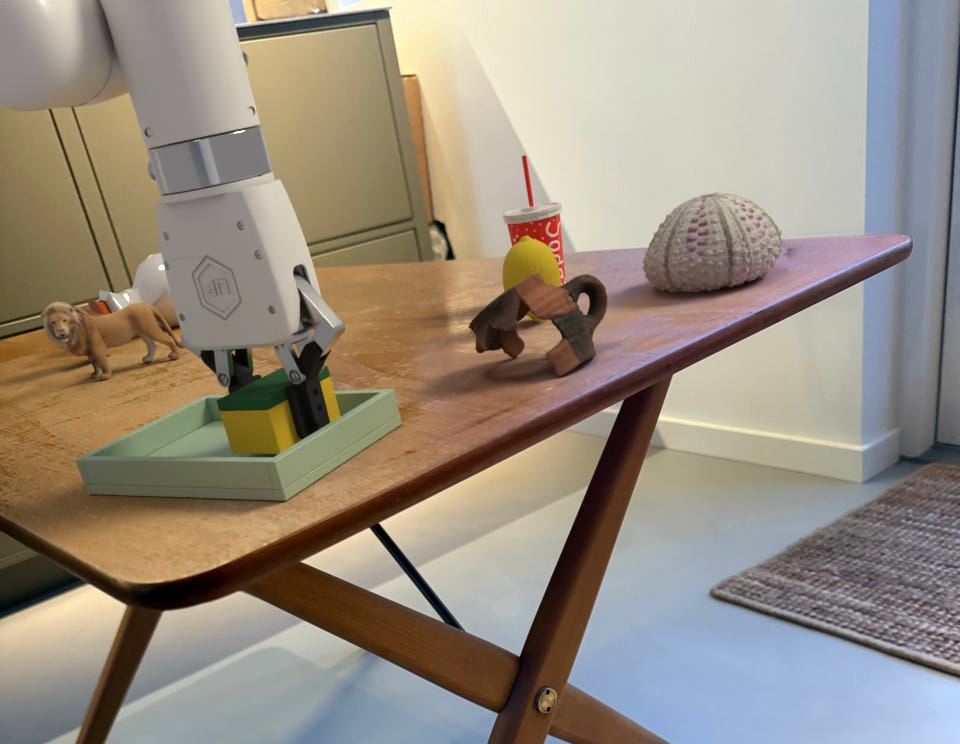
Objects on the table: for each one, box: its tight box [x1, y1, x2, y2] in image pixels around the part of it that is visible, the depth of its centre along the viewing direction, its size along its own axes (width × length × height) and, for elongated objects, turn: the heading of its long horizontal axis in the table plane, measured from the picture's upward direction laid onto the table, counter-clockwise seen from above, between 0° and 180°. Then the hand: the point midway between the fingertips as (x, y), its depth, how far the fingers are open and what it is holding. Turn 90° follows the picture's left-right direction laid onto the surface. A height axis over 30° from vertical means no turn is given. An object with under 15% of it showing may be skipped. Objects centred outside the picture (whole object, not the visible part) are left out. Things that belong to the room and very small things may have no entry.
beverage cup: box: [502, 154, 567, 286], centre depth 107 cm, size 6×6×14 cm
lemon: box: [502, 236, 561, 322], centre depth 99 cm, size 6×6×8 cm
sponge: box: [217, 365, 341, 454], centre depth 76 cm, size 5×8×4 cm, turn 151°
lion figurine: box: [40, 301, 187, 381], centre depth 116 cm, size 15×5×9 cm, turn 126°
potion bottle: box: [86, 252, 180, 329], centre depth 136 cm, size 9×10×15 cm
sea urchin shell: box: [642, 191, 785, 293], centre depth 100 cm, size 13×14×8 cm
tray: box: [74, 388, 403, 502], centre depth 78 cm, size 20×15×3 cm
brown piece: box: [468, 273, 609, 378], centre depth 86 cm, size 12×10×8 cm
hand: (286, 430), depth 76 cm, fingers closed on sponge, 4 cm apart
